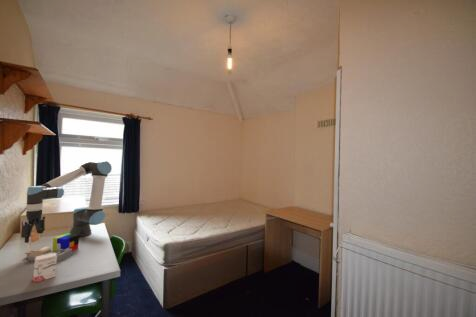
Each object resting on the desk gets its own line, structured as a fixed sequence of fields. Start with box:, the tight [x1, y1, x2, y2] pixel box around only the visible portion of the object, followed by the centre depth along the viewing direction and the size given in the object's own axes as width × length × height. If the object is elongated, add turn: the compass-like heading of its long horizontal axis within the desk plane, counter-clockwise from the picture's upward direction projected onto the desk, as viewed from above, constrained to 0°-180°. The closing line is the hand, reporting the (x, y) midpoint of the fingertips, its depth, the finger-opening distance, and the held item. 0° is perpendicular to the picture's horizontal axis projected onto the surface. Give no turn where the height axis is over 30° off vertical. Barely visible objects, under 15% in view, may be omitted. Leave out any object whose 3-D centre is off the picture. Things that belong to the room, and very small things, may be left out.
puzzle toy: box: [51, 232, 80, 252], centre depth 145 cm, size 10×10×10 cm
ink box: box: [32, 253, 58, 283], centre depth 111 cm, size 9×5×12 cm, turn 139°
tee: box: [24, 250, 36, 259], centre depth 134 cm, size 4×4×3 cm
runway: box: [27, 246, 73, 263], centre depth 134 cm, size 10×20×6 cm, turn 91°
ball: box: [30, 232, 40, 243], centre depth 134 cm, size 6×6×6 cm
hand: (32, 245), depth 134 cm, fingers closed on ball, 6 cm apart
